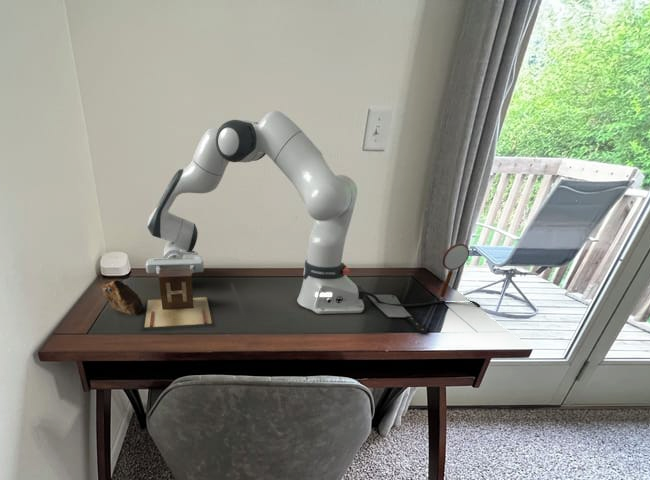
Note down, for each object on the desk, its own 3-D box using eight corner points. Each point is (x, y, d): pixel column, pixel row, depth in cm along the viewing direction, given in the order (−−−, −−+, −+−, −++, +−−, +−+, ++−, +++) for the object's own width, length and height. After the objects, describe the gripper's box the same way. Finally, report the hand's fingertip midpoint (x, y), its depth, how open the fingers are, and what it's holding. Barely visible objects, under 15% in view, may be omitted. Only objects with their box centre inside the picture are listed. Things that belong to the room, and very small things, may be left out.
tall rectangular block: (192, 299, 121) (190, 268, 115) (193, 308, 115) (191, 276, 109) (162, 301, 120) (159, 269, 114) (162, 310, 114) (158, 277, 108)
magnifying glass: (430, 302, 124) (449, 244, 113) (427, 300, 126) (446, 243, 115) (453, 301, 125) (474, 244, 114) (450, 299, 127) (471, 243, 116)
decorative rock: (104, 311, 114) (98, 279, 108) (117, 304, 119) (111, 273, 113) (135, 318, 110) (129, 285, 104) (146, 311, 115) (142, 279, 109)
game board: (206, 299, 124) (206, 296, 123) (212, 325, 107) (212, 322, 106) (148, 302, 121) (147, 298, 120) (144, 329, 104) (144, 326, 104)
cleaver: (397, 333, 104) (430, 333, 104) (397, 332, 104) (431, 332, 104) (366, 295, 129) (393, 295, 129) (366, 294, 128) (394, 294, 129)
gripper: (145, 252, 128) (142, 264, 117) (201, 251, 131) (204, 263, 120) (147, 269, 132) (145, 283, 120) (202, 267, 135) (205, 280, 123)
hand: (175, 273), depth 120 cm, fingers open, 8 cm apart
